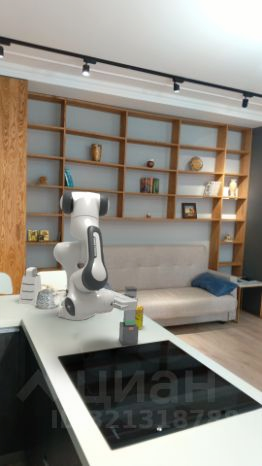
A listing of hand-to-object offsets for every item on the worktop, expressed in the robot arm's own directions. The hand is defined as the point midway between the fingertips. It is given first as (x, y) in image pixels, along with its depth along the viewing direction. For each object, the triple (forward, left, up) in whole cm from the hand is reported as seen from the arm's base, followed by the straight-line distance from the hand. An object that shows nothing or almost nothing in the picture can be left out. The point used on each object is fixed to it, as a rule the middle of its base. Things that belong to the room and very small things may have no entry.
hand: (132, 297), depth 149 cm
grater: (-70, -43, -21) cm, 84 cm away
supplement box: (-18, +7, -21) cm, 28 cm away
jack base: (0, -1, -20) cm, 20 cm away
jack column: (0, -1, -13) cm, 13 cm away
